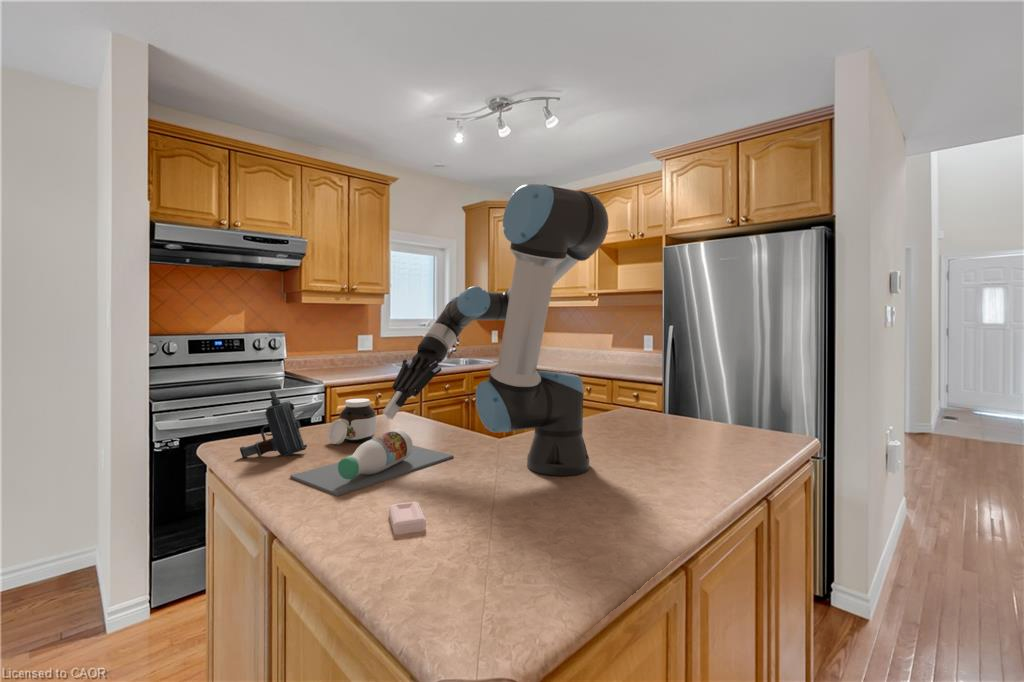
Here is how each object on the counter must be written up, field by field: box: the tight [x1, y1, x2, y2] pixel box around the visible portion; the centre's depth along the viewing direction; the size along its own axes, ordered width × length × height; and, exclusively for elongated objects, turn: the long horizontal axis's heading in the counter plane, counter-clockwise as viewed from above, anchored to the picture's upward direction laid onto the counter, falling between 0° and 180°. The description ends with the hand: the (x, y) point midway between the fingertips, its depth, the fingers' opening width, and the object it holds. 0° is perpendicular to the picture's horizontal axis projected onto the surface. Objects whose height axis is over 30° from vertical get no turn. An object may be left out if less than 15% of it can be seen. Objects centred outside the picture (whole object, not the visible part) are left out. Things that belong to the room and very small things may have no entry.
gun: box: [239, 390, 308, 459], centre depth 128 cm, size 3×17×15 cm
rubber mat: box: [289, 445, 455, 497], centre depth 120 cm, size 34×18×1 cm, turn 143°
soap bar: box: [388, 501, 427, 536], centre depth 89 cm, size 5×9×2 cm, turn 20°
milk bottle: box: [338, 428, 414, 479], centre depth 115 cm, size 8×8×20 cm
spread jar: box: [327, 398, 378, 445], centre depth 144 cm, size 12×11×12 cm
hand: (387, 415), depth 122 cm, fingers closed
